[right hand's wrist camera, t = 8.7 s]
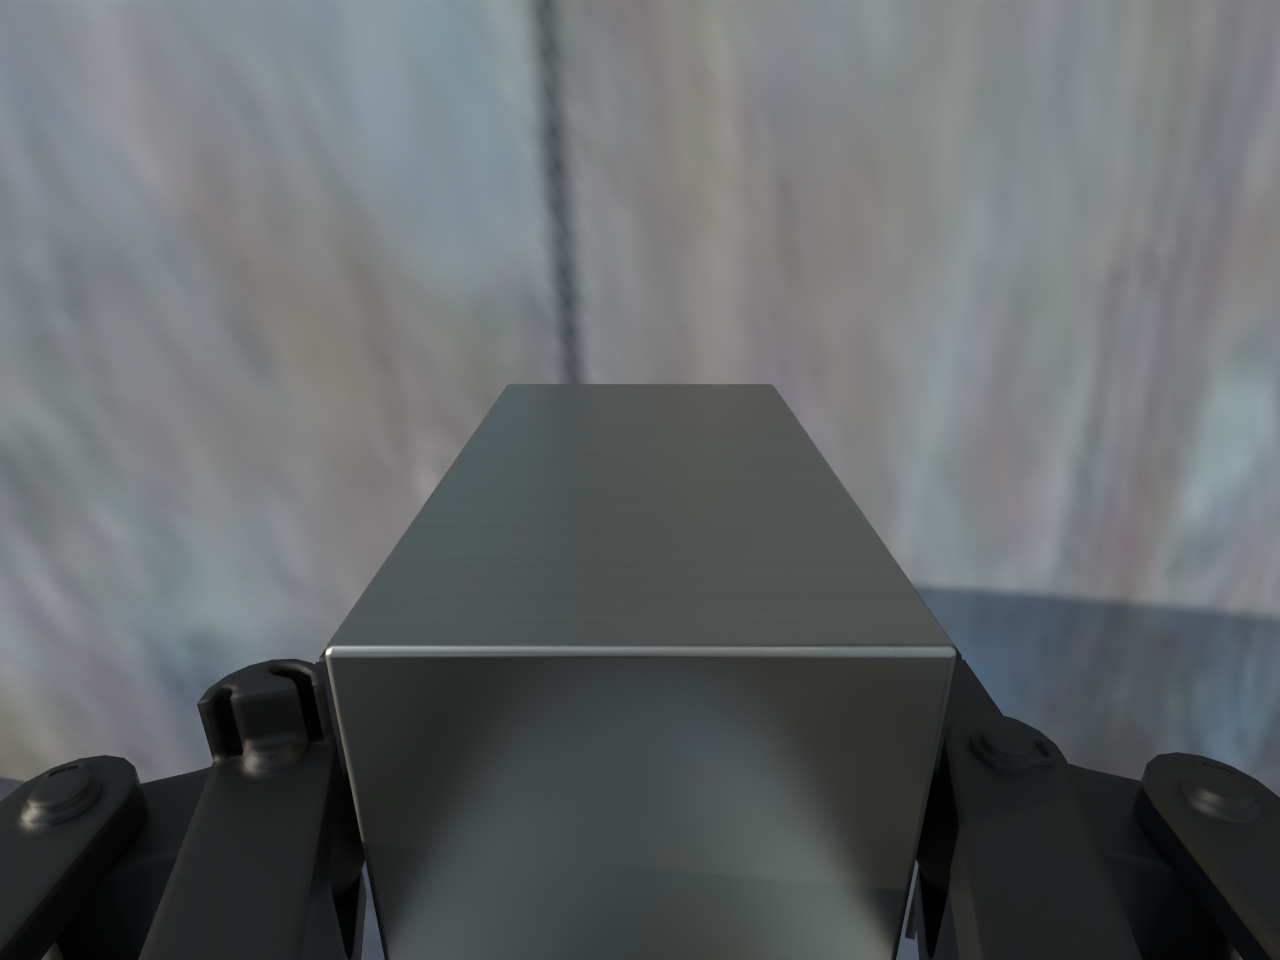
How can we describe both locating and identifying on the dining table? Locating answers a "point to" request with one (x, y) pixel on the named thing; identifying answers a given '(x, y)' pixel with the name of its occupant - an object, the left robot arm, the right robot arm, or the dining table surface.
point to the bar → (640, 693)
